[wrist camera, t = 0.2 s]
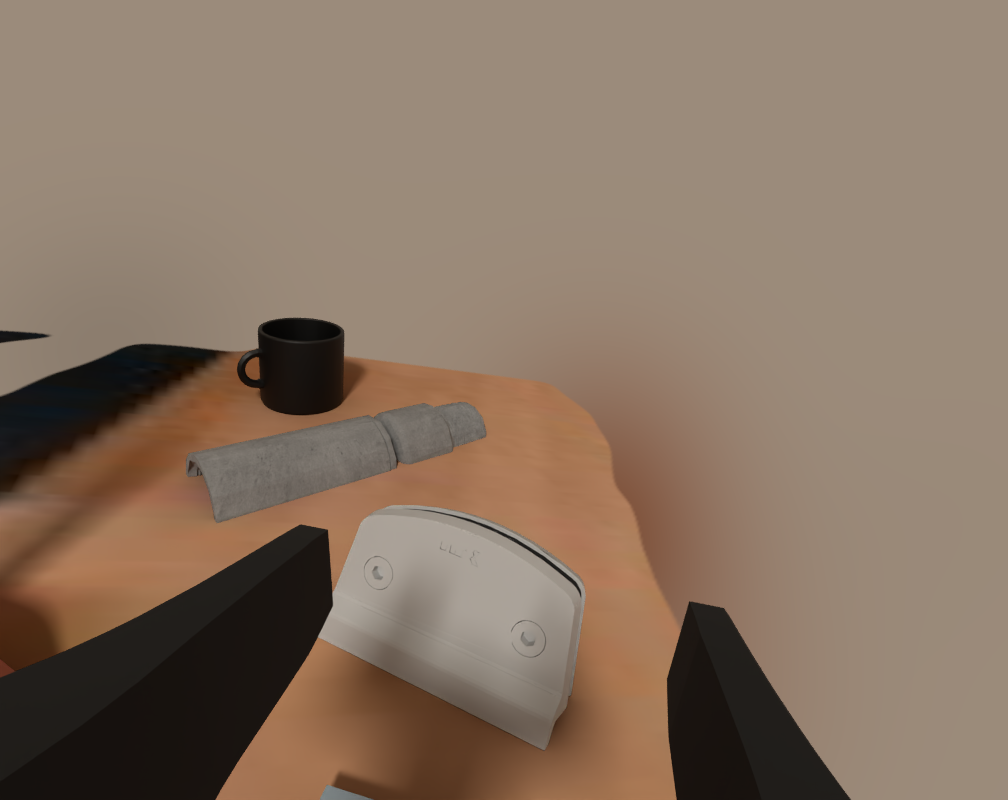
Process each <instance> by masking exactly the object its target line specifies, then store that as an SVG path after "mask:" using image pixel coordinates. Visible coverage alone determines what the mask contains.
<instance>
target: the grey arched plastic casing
mask: <svg viewBox="0 0 1008 800" xmlns="http://www.w3.org/2000/svg"><path fill="white" fill-rule="evenodd" d="M332 595H333V607H332V609H331V611H330V613H329V615H328V617H327V620H326V622H325V624H324V626H323V628H322V630H321V632H320V634H319V636H318V637H319V638H321V639H323V640H325V641H327V642H329V643H331V644H333V645H335V646H337V647H339V648H341V649H343V650H345V651H347V652H349V653H351V654H353V655H355V656H357V657H359V658H361V659H363V660H365V661H367V662H369V663H371V664H373V665H375V666H377V667H379V668H381V669H383V670H385V671H387V672H389V673H391V674H393V675H394V676H396V677H398V678H400V679H402V680H404V681H406V682H408V683H410V684H412V685H414V686H416V687H418V688H420V689H422V690H424V691H426V692H428V693H430V694H432V695H434V696H436V697H438V698H440V699H442V700H444V701H446V702H448V703H450V704H452V705H454V706H456V707H458V708H460V709H462V710H464V711H466V712H468V713H470V714H472V715H474V716H476V717H478V718H480V719H482V720H484V721H486V722H488V723H490V724H492V725H494V726H496V727H498V728H500V729H502V730H504V731H506V732H508V733H510V734H512V735H514V736H516V737H518V738H520V739H522V740H524V741H526V742H528V743H530V744H532V745H534V746H536V747H538V748H540V749H542V750H545V749H546V747H547V746H548V744H549V740H550V737H551V733H552V730H553V727H554V723H555V721H556V720H557V719H558V717H559V716H560V715H561V714H562V713H563V711H564V710H565V709H566V708H567V702H568V695H570V696H571V692H572V685H573V678H574V672H575V665H576V658H577V651H578V645H579V638H580V631H581V624H582V618H583V611H584V604H585V597H586V596H585V587H584V583H583V581H582V579H581V578H580V577H579V576H578V575H577V574H576V573H575V572H574V571H573V570H571V569H570V568H569V567H568V566H567V565H566V564H564V563H563V562H562V561H560V560H559V559H558V558H556V557H555V556H554V555H552V554H551V553H550V552H548V551H547V550H545V549H544V548H542V547H541V546H539V545H538V544H536V543H535V542H533V541H531V540H529V539H528V538H526V537H524V536H522V535H521V534H519V533H517V532H515V531H513V530H511V529H509V528H507V527H505V526H502V525H500V524H497V523H495V522H493V521H490V520H487V519H484V518H481V517H478V516H476V515H472V514H468V513H465V512H461V511H456V510H451V509H446V508H438V507H430V506H418V505H392V506H388V507H385V508H384V509H379V510H376V511H375V512H373V513H371V514H370V515H369V516H367V517H366V518H365V519H364V520H363V521H362V522H361V524H360V527H359V529H358V532H357V534H356V537H355V539H354V542H353V545H352V547H351V550H350V552H349V555H348V557H347V560H346V562H345V565H344V568H343V570H342V573H341V575H340V578H339V580H338V583H337V585H336V588H335V590H334V592H333V594H332Z"/></svg>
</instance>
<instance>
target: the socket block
mask: <svg viewBox="0 0 1008 800" xmlns="http://www.w3.org/2000/svg"><path fill="white" fill-rule="evenodd" d="M320 800H373V799H370V798H367V797H364V796H361V795H357V794H354V793H351V792H348V791H345V790H342V789H339V788H335V787H332V786H329V785H327V786H326V788H325V790H324V792H323V794H322V796H321V798H320Z"/></svg>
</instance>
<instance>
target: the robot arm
mask: <svg viewBox="0 0 1008 800" xmlns="http://www.w3.org/2000/svg"><path fill="white" fill-rule="evenodd" d="M332 607H333V595H332V581H331V567H330V553H329V539H328V530H326V529H321V528H316V527H311V526H306V525H299V526H297V527H295V528H293V529H291V530H290V531H288V532H286V533H284V534H283V535H281V536H279V537H278V538H276V539H274V540H273V541H271V542H269V543H267V544H266V545H264V546H262V547H261V548H259V549H257V550H256V551H254V552H252V553H251V554H249V555H247V556H246V557H244V558H242V559H241V560H239V561H237V562H236V563H234V564H232V565H230V566H229V567H227V568H225V569H224V570H222V571H220V572H218V573H217V574H215V575H213V576H212V577H210V578H208V579H206V580H205V581H203V582H201V583H200V584H198V585H196V586H194V587H192V588H190V589H189V590H187V591H185V592H183V593H181V594H179V595H177V596H176V597H174V598H172V599H170V600H168V601H166V602H164V603H163V604H161V605H159V606H157V607H155V608H153V609H151V610H150V611H148V612H146V613H144V614H142V615H140V616H138V617H136V618H134V619H132V620H130V621H128V622H126V623H124V624H122V625H120V626H118V627H116V628H114V629H112V630H110V631H108V632H106V633H104V634H101V635H99V636H97V637H95V638H93V639H90V640H88V641H86V642H84V643H82V644H79V645H77V646H75V647H73V648H71V649H68V650H66V651H64V652H62V653H59V654H57V655H55V656H52V657H50V658H47V659H45V660H42V661H40V662H37V663H35V664H32V665H30V666H27V667H25V668H22V669H20V670H17V671H15V672H12V673H10V674H7V675H5V676H2V677H0V800H215V799H216V798H217V796H218V794H219V792H220V790H221V789H222V787H223V785H224V784H225V782H226V780H227V779H228V777H229V775H230V774H231V772H232V771H233V769H234V767H235V766H236V764H237V762H238V761H239V759H240V758H241V756H242V755H243V753H244V752H245V750H246V749H247V747H248V746H249V744H250V743H251V741H252V740H253V738H254V737H255V735H256V734H257V732H258V731H259V729H260V728H261V726H262V725H263V723H264V722H265V720H266V719H267V717H268V716H269V714H270V713H271V711H272V710H273V708H274V707H275V705H276V704H277V702H278V701H279V699H280V698H281V696H282V695H283V693H284V692H285V690H286V688H287V687H288V685H289V684H290V682H291V681H292V679H293V678H294V676H295V675H296V673H297V672H298V670H299V669H300V667H301V666H302V664H303V662H304V661H305V659H306V658H307V656H308V655H309V653H310V651H311V649H312V647H313V645H314V643H315V641H316V640H317V638H318V636H319V634H320V632H321V630H322V628H323V626H324V624H325V622H326V620H327V617H328V615H329V613H330V611H331V609H332ZM667 699H668V733H669V744H670V752H671V760H672V767H673V775H674V783H675V790H676V797H677V800H851V799H850V798H849V797H848V795H847V794H846V793H845V791H844V790H843V789H842V787H841V786H840V785H839V783H838V782H837V780H836V779H835V778H834V776H833V775H832V774H831V772H830V771H829V770H828V768H827V767H826V765H825V764H824V763H823V761H822V760H821V758H820V757H819V756H818V754H817V753H816V752H815V750H814V748H813V747H812V746H811V744H810V743H809V741H808V740H807V738H806V737H805V735H804V734H803V733H802V731H801V730H800V728H799V727H798V725H797V724H796V722H795V721H794V719H793V718H792V716H791V714H790V713H789V711H788V710H787V708H786V707H785V705H784V704H783V702H782V701H781V700H780V698H779V696H778V695H777V693H776V692H775V690H774V689H773V687H772V686H771V684H770V682H769V681H768V679H767V678H766V676H765V674H764V673H763V671H762V670H761V668H760V666H759V665H758V663H757V662H756V660H755V658H754V657H753V655H752V654H751V652H750V650H749V649H748V647H747V645H746V644H745V642H744V640H743V639H742V637H741V635H740V633H739V632H738V630H737V628H736V627H735V625H734V623H733V621H732V620H731V618H730V617H729V615H728V614H727V612H726V611H725V609H724V608H720V607H715V606H710V605H705V604H700V603H695V602H689V605H688V608H687V612H686V615H685V619H684V622H683V626H682V629H681V632H680V636H679V639H678V643H677V646H676V650H675V653H674V657H673V660H672V664H671V667H670V671H669V674H668V678H667Z"/></svg>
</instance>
